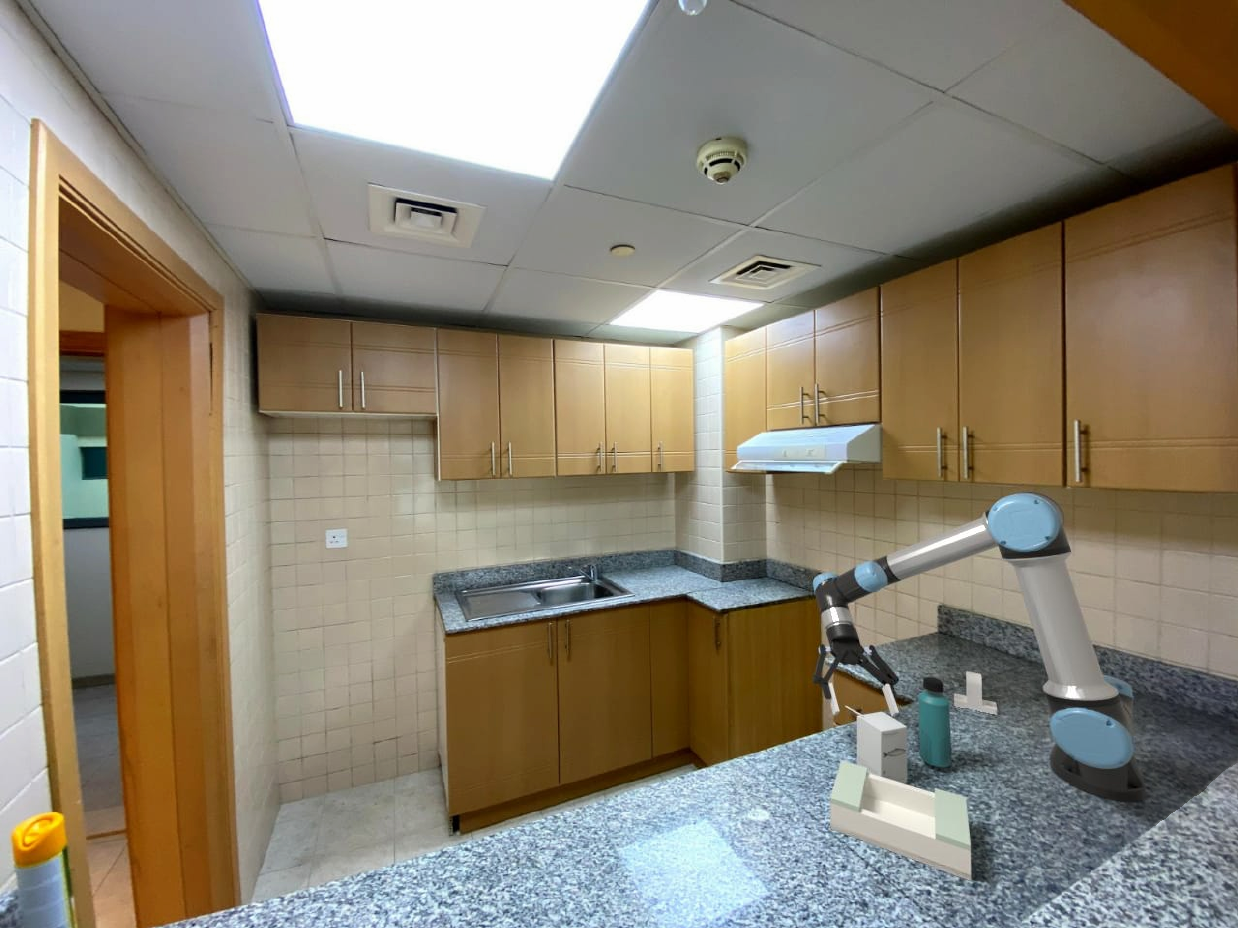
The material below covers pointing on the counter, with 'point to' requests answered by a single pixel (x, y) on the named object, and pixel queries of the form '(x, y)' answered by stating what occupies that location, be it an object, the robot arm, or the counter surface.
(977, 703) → the cable organizer
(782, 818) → the counter surface
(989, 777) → the counter surface
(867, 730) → the supplement box
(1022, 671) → the counter surface
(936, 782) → the counter surface
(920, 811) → the cream green tray
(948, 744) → the beverage bottle
